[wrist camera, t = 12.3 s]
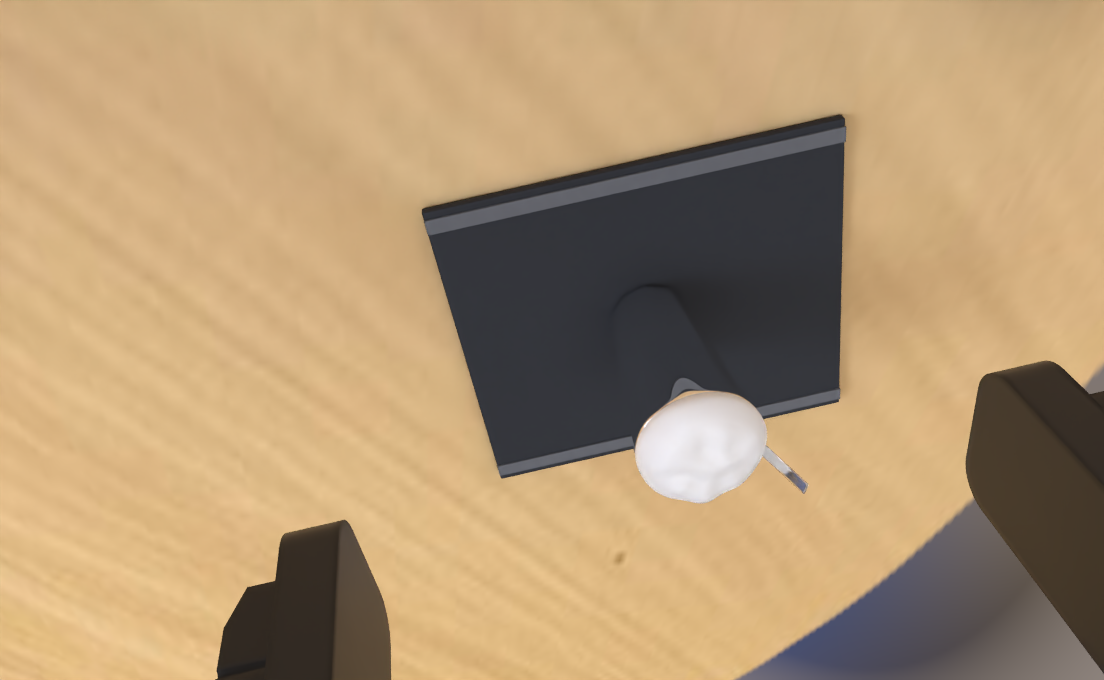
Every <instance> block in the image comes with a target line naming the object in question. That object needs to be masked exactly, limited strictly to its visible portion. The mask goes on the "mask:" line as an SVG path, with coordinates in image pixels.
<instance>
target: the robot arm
mask: <svg viewBox="0 0 1104 680" xmlns="http://www.w3.org/2000/svg"><path fill="white" fill-rule="evenodd" d="M966 474H967V478H968V482H969V486H970V489H971V491H972V494H973V496H974V498H975V500H976V502H977V504H978V505H979V507H980V508H981V510H982V511H983V513H984V514H985V515H986V516H987V518H988V519H989V521H990V522H991V523H992V524H993V526H994V527H995V529H996V530H997V531H998V533H999V534H1000V535H1001V536H1002V538H1003V539H1004V541H1005V542H1006V543H1007V545H1008V546H1009V547H1010V549H1011V550H1012V551H1013V553H1014V554H1015V555H1016V557H1017V558H1018V559H1019V561H1020V562H1021V563H1022V565H1023V566H1024V567H1025V569H1026V570H1027V571H1028V573H1029V574H1030V575H1031V577H1032V578H1033V579H1034V581H1035V582H1036V583H1037V585H1038V586H1039V587H1040V589H1041V590H1042V591H1043V593H1044V594H1045V596H1046V597H1047V598H1048V600H1049V601H1050V602H1051V604H1052V605H1053V606H1054V607H1055V609H1056V610H1057V612H1058V613H1059V614H1060V616H1061V617H1062V618H1063V619H1064V621H1065V622H1066V624H1067V625H1068V626H1069V628H1070V629H1071V630H1072V632H1073V633H1074V634H1075V636H1076V637H1077V638H1078V639H1079V641H1080V642H1081V644H1082V645H1083V646H1084V648H1085V649H1086V650H1087V652H1088V653H1089V654H1090V656H1091V657H1092V658H1093V660H1094V661H1095V662H1096V664H1097V665H1098V666H1099V668H1100V669H1101V670H1102V672H1103V673H1104V391H1103V392H1098V393H1094V394H1088V392H1087V391H1086V390H1085V389H1084V388H1083V387H1081V386H1080V385H1079V384H1078V383H1077V382H1076V381H1075V380H1074V379H1073V378H1072V377H1071V376H1070V375H1069V374H1068V373H1067V372H1066V371H1065V370H1064V369H1063V368H1062V367H1060V366H1059V365H1058V364H1056V363H1054V362H1051V361H1042V362H1037V363H1033V364H1029V365H1024V366H1020V367H1016V368H1011V369H1007V370H1003V371H998V372H994V373H990V374H986V375H985V376H984V377H983V378H982V379H981V381H980V383H979V387H978V392H977V398H976V404H975V409H974V415H973V421H972V427H971V432H970V438H969V444H968V449H967V455H966ZM217 673H218V679H215V680H391V643H390V631H389V624H388V618H387V613H386V609H385V605H384V601H383V598H382V596H381V593H380V591H379V588H378V586H377V584H376V582H375V579H374V577H373V575H372V573H371V570H370V568H369V566H368V564H367V561H366V559H365V557H364V555H363V552H362V550H361V548H360V546H359V543H358V541H357V539H356V537H355V534H354V532H353V530H352V528H351V526H350V524H349V523H348V522H347V521H346V520H342V521H337V522H333V523H329V524H324V525H320V526H316V527H311V528H307V529H303V530H298V531H294V532H289V533H285V534H284V535H283V537H282V538H281V542H280V547H279V554H278V563H277V571H276V580H275V581H273V582H269V583H265V584H260V585H256V586H252V587H247V589H246V591H245V592H244V594H243V596H242V598H241V599H240V601H239V603H238V604H237V606H236V608H235V610H234V611H233V613H232V615H231V617H230V618H229V620H228V622H227V624H226V625H225V627H224V630H223V636H222V642H221V648H220V654H219V660H218V666H217Z"/></svg>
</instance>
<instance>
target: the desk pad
mask: <svg viewBox="0 0 1104 680" xmlns="http://www.w3.org/2000/svg"><path fill="white" fill-rule="evenodd" d="M844 142H846V126H845V118H844V117H843V116H842V115H838V116H833V117H829V118H824V119H820V120H815V121H811V122H807V123H802V124H798V125H793V126H789V127H784V128H780V129H775V130H771V131H767V132H762V133H758V134H753V135H749V136H744V137H740V138H736V139H731V140H727V141H722V142H718V143H713V144H709V145H704V146H700V147H696V148H691V149H687V150H682V151H678V152H673V153H669V154H665V155H660V156H656V157H651V158H647V159H642V160H638V161H633V162H629V163H625V164H620V165H616V166H611V167H607V168H602V169H598V170H593V171H589V172H585V173H580V174H576V175H571V176H567V177H562V178H558V179H554V180H549V181H545V182H540V183H536V184H531V185H527V186H522V187H518V188H514V189H509V190H505V191H500V192H496V193H491V194H487V195H483V196H478V197H474V198H469V199H465V200H460V201H456V202H451V203H447V204H443V205H438V206H434V207H429V208H425V209H422V215H423V219H424V223H425V227H426V230H427V233H428V236H429V239H430V242H431V245H432V249H433V252H434V255H435V259H436V262H437V265H438V269H439V272H440V275H441V279H442V282H443V285H444V289H445V292H446V295H447V299H448V302H449V305H450V309H451V312H452V315H453V319H454V322H455V326H456V329H457V332H458V336H459V339H460V342H461V346H462V349H463V352H464V356H465V359H466V362H467V366H468V369H469V372H470V376H471V379H472V382H473V386H474V389H475V392H476V396H477V399H478V402H479V406H480V409H481V412H482V416H483V419H484V422H485V426H486V429H487V432H488V436H489V439H490V443H491V446H492V449H493V453H494V456H495V459H496V463H497V467H498V470H499V474H500V476H501V478H507V477H511V476H515V475H520V474H524V473H529V472H533V471H537V470H542V469H546V468H551V467H555V466H559V465H564V464H568V463H572V462H577V461H581V460H586V459H590V458H594V457H599V456H603V455H608V454H612V453H616V452H621V451H625V450H630V449H634V447H633V441H632V435H631V429H630V423H629V416H628V408H627V399H626V395H625V390H624V385H623V381H622V376H621V371H620V367H619V362H618V357H617V353H616V348H615V343H614V338H613V331H612V325H611V318H610V316H611V315H612V313H613V311H614V310H615V308H616V306H617V305H618V303H619V302H620V300H621V298H622V297H623V296H625V295H627V294H629V293H631V292H633V291H635V290H637V289H639V288H641V287H643V286H660V287H669V288H670V289H672V290H673V291H674V292H675V293H676V294H677V295H679V296H680V297H681V298H682V299H683V300H684V301H685V302H686V303H687V305H688V306H689V308H690V309H691V311H692V312H693V314H694V316H695V317H696V319H697V320H698V322H699V323H700V325H701V326H702V328H703V330H704V331H705V333H706V334H707V336H708V337H709V339H710V341H711V342H712V344H713V345H714V347H715V348H716V350H717V351H718V353H719V355H720V356H721V358H722V359H723V361H724V363H725V364H726V366H727V367H728V369H729V370H730V372H731V373H732V375H733V376H734V377H735V379H736V380H737V382H738V383H739V385H740V386H741V387H742V389H743V390H744V392H745V393H746V395H747V396H748V397H749V399H750V400H751V402H752V403H753V405H754V406H755V407H756V409H757V410H758V412H759V413H760V414H761V416H762V418H763V419H766V418H770V417H775V416H779V415H783V414H788V413H792V412H797V411H801V410H805V409H810V408H814V407H819V406H823V405H827V404H832V403H836V402H839V399H840V388H839V365H840V319H841V273H842V227H843V181H844Z"/></svg>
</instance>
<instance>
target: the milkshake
mask: <svg viewBox="0 0 1104 680" xmlns="http://www.w3.org/2000/svg"><path fill="white" fill-rule="evenodd" d="M610 318H611V325H612V331H613V338H614V343H615V348H616V353H617V357H618V362H619V367H620V371H621V376H622V381H623V385H624V390H625V395H626V399H627V408H628V416H629V423H630V429H631V435H632V441H633V447H634V453H635V459H636V464H637V467H638V470H639V472H640V474H641V476H642V477H643V479H644V480H645V482H646V483H647V484H648V485H649V486H650V487H651V488H652V489H653V490H654V491H656V492H657V493H659V494H661V495H663V496H665V497H668V498H672V499H678V500H685V501H689V502H694V503H707V502H709V501H711V500H713V499H715V498H716V497H718V496H720V495H721V494H723V493H725V492H727V491H729V490H732V489H734V488H736V487H738V486H739V485H741V484H742V483H743V482H744V481H745V480H746V479H747V478H748V477H749V476H750V475H751V473H752V472H753V471H754V469H755V468H756V466H757V465H758V463H759V462H760V460H761V458H762V456H763V457H764V458H765V459H766V460H767V461H768V462H769V463H770V464H772V465H773V466H774V467H775V468H776V469H777V470H778V471H779V472H780V473H781V474H782V475H783V476H784V477H785V478H787V479H788V480H789V481H790V482H791V483H792V484H793V485H794V486H795V487H796V488H797V489H798V490H799V491H801V492H802V493H803V494H804V493H805V492H806V489H807V487H808V484H807V482H806V481H804V480H803V479H802V478H801V477H800V476H799V475H798V474H797V473H796V472H795V471H794V470H793V469H791V468H790V467H789V466H788V465H787V464H786V463H785V462H784V461H783V460H782V459H781V458H779V457H778V456H777V455H776V454H775V453H774V452H773V451H772V450H771V449H770V448H769V447H767V446H766V441H767V429H766V425H765V422H764V420H763V418H762V416H761V414H760V413H759V412H758V410H757V409H756V407H755V406H754V405H753V403H752V402H751V400H750V399H749V397H748V396H747V395H746V393H745V392H744V390H743V389H742V387H741V386H740V385H739V383H738V382H737V380H736V379H735V377H734V376H733V375H732V373H731V372H730V370H729V369H728V367H727V366H726V364H725V363H724V361H723V359H722V358H721V356H720V355H719V353H718V351H717V350H716V348H715V347H714V345H713V344H712V342H711V341H710V339H709V337H708V336H707V334H706V333H705V331H704V330H703V328H702V326H701V325H700V323H699V322H698V320H697V319H696V317H695V316H694V314H693V312H692V311H691V309H690V308H689V306H688V305H687V303H686V302H685V301H684V300H683V299H682V298H681V297H680V296H679V295H677V294H676V293H675V292H674V291H673V290H672V289H670V288H669V287H660V286H643V287H641V288H639V289H637V290H635V291H633V292H631V293H629V294H627V295H625V296H623V297H622V298H621V300H620V302H619V303H618V305H617V306H616V308H615V310H614V311H613V313H612V315H611V316H610Z"/></svg>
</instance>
